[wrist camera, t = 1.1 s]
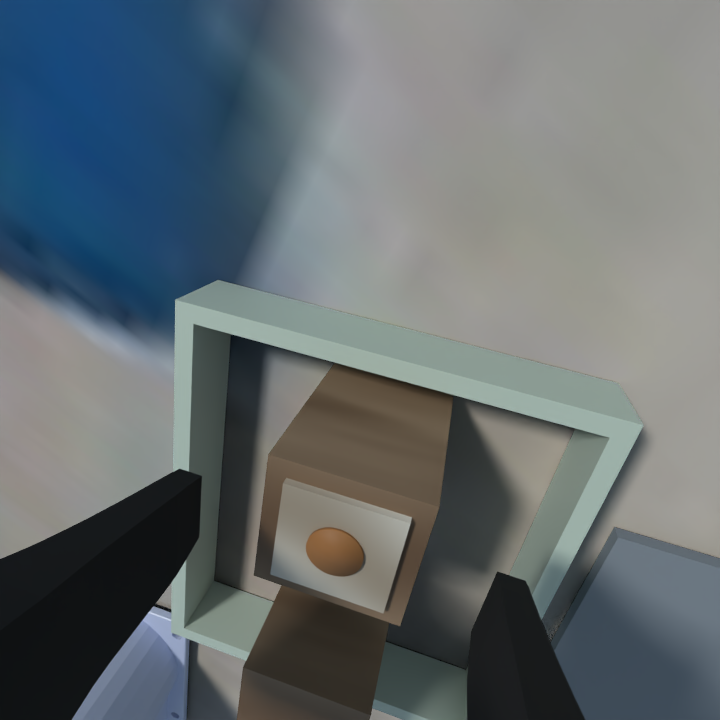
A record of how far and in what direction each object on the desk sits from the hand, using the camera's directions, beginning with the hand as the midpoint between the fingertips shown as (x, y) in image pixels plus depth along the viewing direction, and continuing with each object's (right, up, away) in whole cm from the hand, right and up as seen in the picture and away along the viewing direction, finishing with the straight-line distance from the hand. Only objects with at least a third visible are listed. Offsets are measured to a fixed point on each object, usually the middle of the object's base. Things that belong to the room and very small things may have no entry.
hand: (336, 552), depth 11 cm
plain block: (0, -5, +9) cm, 10 cm away
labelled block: (+1, +2, +6) cm, 6 cm away
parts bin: (+1, -1, +7) cm, 7 cm away
